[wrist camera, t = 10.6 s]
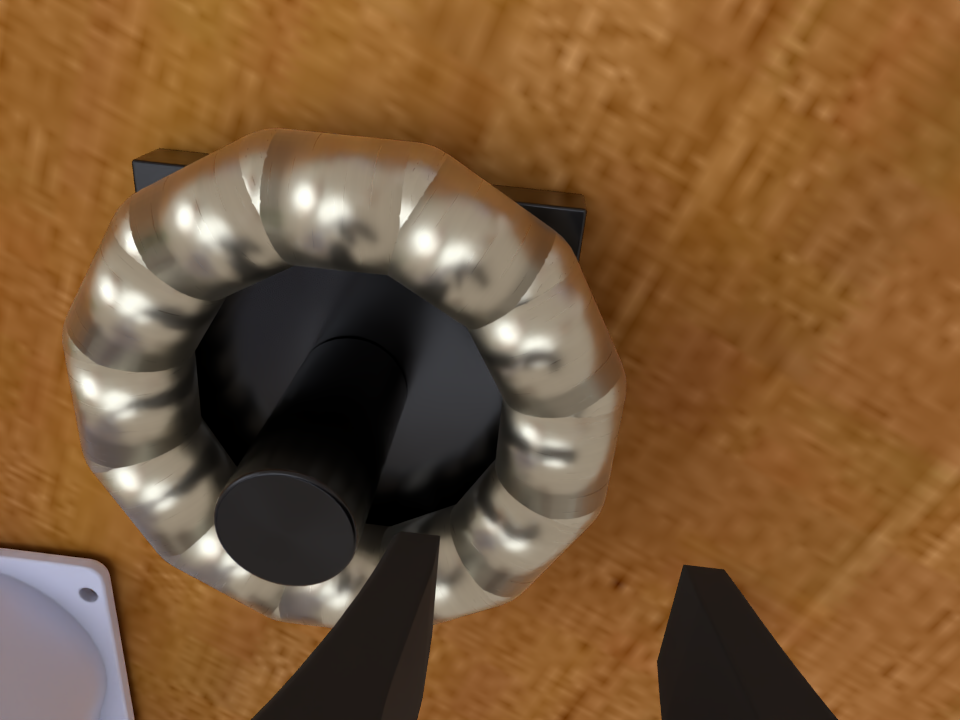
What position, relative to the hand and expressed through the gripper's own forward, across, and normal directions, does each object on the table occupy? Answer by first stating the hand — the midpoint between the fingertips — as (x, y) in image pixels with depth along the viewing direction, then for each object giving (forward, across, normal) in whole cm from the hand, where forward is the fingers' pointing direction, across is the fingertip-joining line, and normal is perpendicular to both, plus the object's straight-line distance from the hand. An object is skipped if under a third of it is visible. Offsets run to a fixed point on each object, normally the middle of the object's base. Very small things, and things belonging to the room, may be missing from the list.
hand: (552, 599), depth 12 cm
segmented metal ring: (+4, +4, 0) cm, 6 cm away
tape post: (+7, +4, 0) cm, 8 cm away
